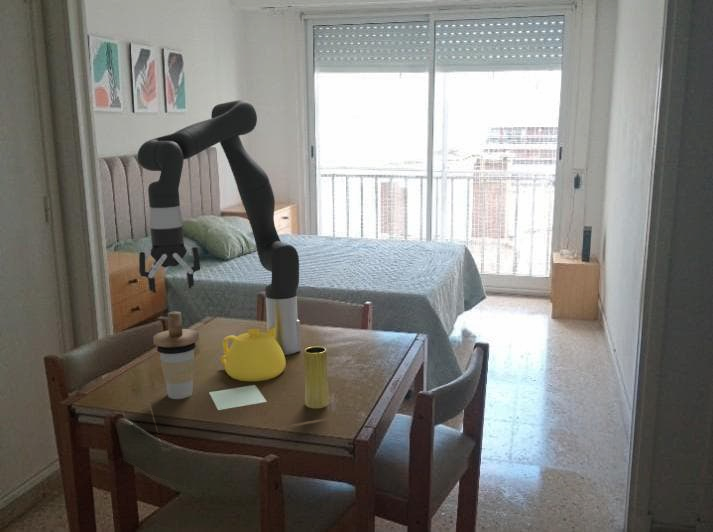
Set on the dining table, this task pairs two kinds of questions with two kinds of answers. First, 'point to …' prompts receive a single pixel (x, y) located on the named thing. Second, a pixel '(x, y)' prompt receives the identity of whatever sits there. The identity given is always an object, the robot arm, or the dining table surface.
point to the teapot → (253, 356)
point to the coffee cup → (178, 370)
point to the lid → (175, 333)
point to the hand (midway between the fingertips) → (171, 290)
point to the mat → (237, 397)
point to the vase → (316, 378)
